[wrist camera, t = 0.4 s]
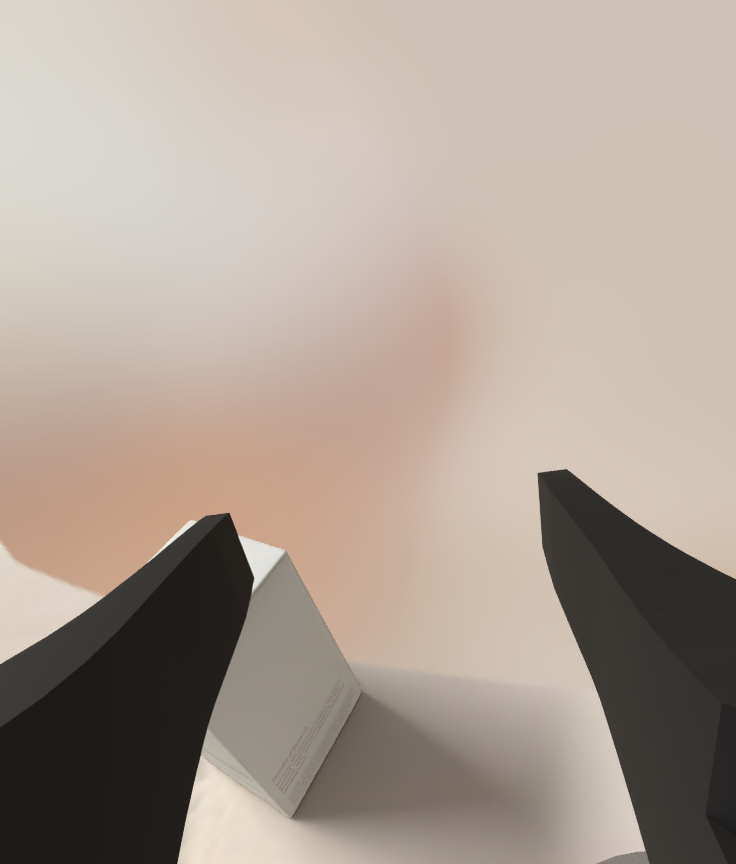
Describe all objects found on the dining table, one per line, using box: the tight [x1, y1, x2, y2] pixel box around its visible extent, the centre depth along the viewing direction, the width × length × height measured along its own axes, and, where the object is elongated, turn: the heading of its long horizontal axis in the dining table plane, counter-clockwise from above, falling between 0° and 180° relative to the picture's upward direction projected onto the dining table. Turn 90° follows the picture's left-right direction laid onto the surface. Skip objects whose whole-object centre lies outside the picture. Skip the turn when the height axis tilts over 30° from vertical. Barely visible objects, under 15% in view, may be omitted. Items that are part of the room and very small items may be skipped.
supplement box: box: [146, 520, 362, 818], centre depth 27 cm, size 7×7×13 cm
